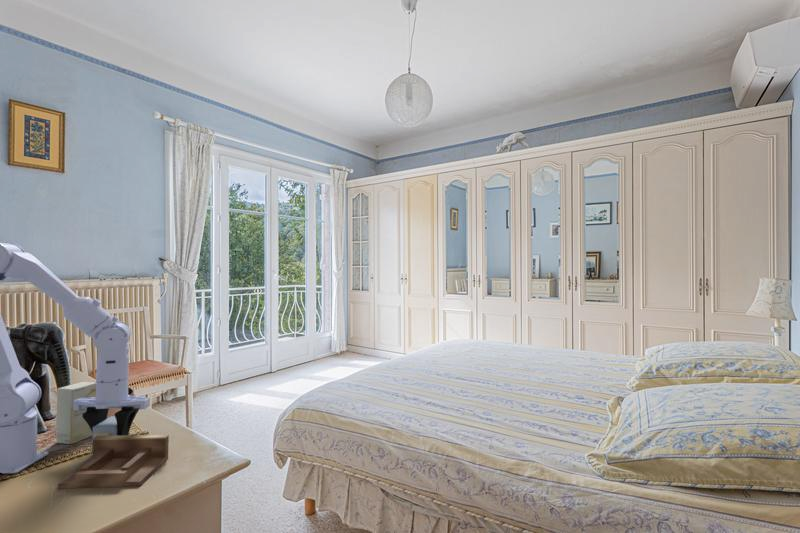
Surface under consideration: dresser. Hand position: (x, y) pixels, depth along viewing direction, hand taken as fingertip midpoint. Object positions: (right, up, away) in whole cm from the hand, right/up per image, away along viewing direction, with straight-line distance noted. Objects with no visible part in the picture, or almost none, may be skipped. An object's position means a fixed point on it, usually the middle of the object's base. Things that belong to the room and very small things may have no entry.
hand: (111, 441), depth 87 cm
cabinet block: (0, -2, 0) cm, 2 cm away
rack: (+8, -2, -9) cm, 12 cm away
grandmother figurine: (-9, -2, +15) cm, 17 cm away
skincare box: (-11, -2, +5) cm, 13 cm away
